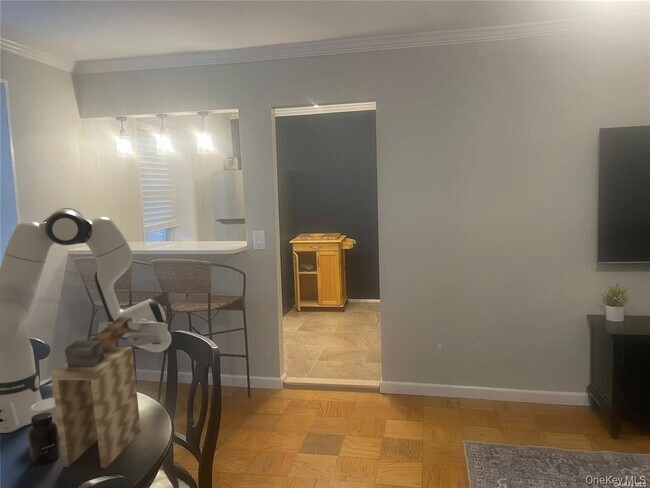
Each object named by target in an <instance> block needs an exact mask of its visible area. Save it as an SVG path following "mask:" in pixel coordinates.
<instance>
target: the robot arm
mask: <svg viewBox="0 0 650 488" xmlns="http://www.w3.org/2000/svg"><path fill="white" fill-rule="evenodd" d="M54 244H57V245H60V246H72V245H73V246H74V245H79V244H85V245H86V246H87V247H88V248H89V249H90V251H91V253H92V255H93V256H94V258H95V262H96V265H97V269H96V272H95V273H94V282H95V286H96V289H97V292H98V294H99V297H100V300H101V304H102V306H103V309H104V311H105V314H106V318H107V321H104V322H103V321H100V323H99V325H98V328H97V329H98V330H97V333H98V334H99V333H100V332H102V331H103V330H104V329H105V328H107V327H108V326H109V325H110V324H112V323H113V322H114V321H115V320H117V319H118V318H119V317H131V318H132V322H126V325H125V327H126V328H129V329H130V330H129V331H128V332H127V333H126V334H124V335H123V336H122V337H121V338H120V339H119V340H124V341H128V343H129V344H130V345H131V346H134V347H137V348H140V349H144V350H145V351H148V352H151V353H152V352H153V353H161V352H163V351H165V350H167V349H168V348H170V347H169V346H170V345H171V343H172V335H171V333H170V332H169V330H168V328H169V327H168V326H169V323H168V314H167V311H166V309H165V307H164V306H163V305H162V304H161V302H160V301H158V300H155V299H153V298H149V299H146V300H143V301H141V302H138V303H137V304H135V305H132V306H130V307H127V308H124V309H123V308H121V305H120V303H119V300H118V298H117V295H116V292H115V289H114V285H115V282H116V281H117V280H118V279H119V278H121V276H123V275H124V274H125V273H126V272H127V271H128V270H129V268H130V267H131V265H132V262H133V258H134V256H133V251H132V248H131V247H130V245H129V243H128V241H127V239H126V238H125V236H124V235H123V233H122V231H121V230H120V228H119V227H118V225H117V224H116V223H115V222H114V221H113V220H112V219H111V218H109V217H107V216H100V217H95V218H93V219H86V218H85V217H84V216H83V214H81V212H79V211H78V210H76V209H74V208H71V207H64V208H58V209H57V210H55V211H53V212H52V213H51V214H50V215H49V216H48V217H47V218H46V219H44V220H43V221H42V222H36V221H25V222H24V221H23V222H20V223H19V224H18V225H16V227H15V229H14V230H13V232H12V234H11V236H10V237H9V240H8V243H7V245H6V248H5V251H4V254H3V257H2V259H1V263H0V434H9V433H12V432H15V431H16V430H19V429H20V428H22V427H25V426H28V425H30V424H31V418H32V417H33V415H32V410H31V407H32V405H33V404H35V403H37V402H39V401H41V400H43V398H42V395H41V391H40V377H39V374H38V370H37V369H36V364H35V355H34V349H33V346H32V343H31V341H30V337H29V332H28V328H27V322H28V320H29V318H30V316H31V312H32V309H33V305H34V302H35V297H36V293H37V292H38V291H37V290H38V287H39V283H40V279H41V277H42V273H43V269H44V266H45V264H46V260H47V257H48V253H49V251H50V249H51V247H52V246H53V245H54Z"/></svg>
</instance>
